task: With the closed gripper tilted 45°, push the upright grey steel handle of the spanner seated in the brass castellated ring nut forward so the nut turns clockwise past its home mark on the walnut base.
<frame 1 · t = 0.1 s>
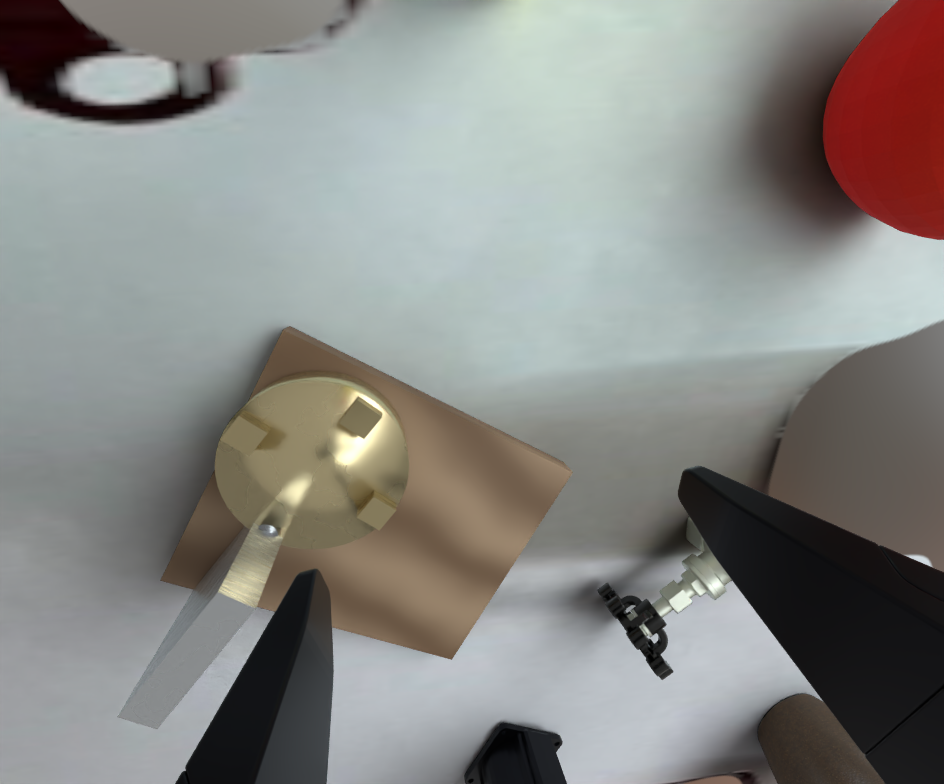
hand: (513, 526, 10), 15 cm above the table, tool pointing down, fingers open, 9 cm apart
valve: (663, 551, 32), on the table
walnut base: (381, 508, 26), on the table
ring nut spanner: (271, 532, 19), point 5 cm above the table, hinge at 30.0°
plant pot: (784, 718, 42), on the table
tomato: (863, 127, 26), on the table
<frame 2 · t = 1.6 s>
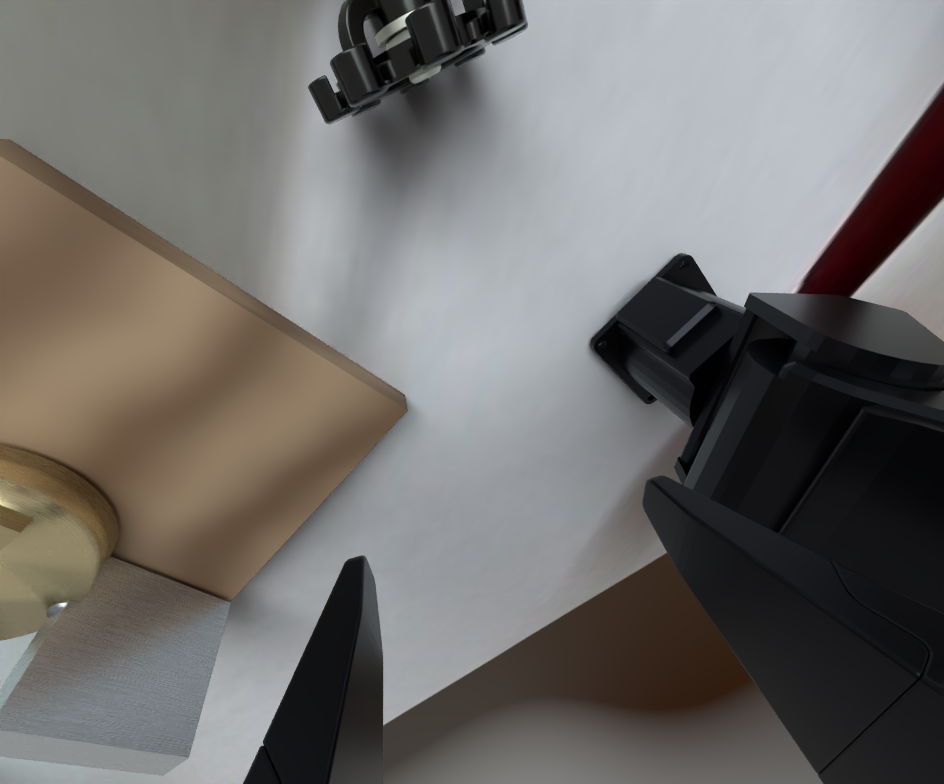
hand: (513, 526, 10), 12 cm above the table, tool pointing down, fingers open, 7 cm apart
walnut base: (142, 449, 19), on the table
ring nut spanner: (20, 629, 16), point 5 cm above the table, hinge at 30.0°
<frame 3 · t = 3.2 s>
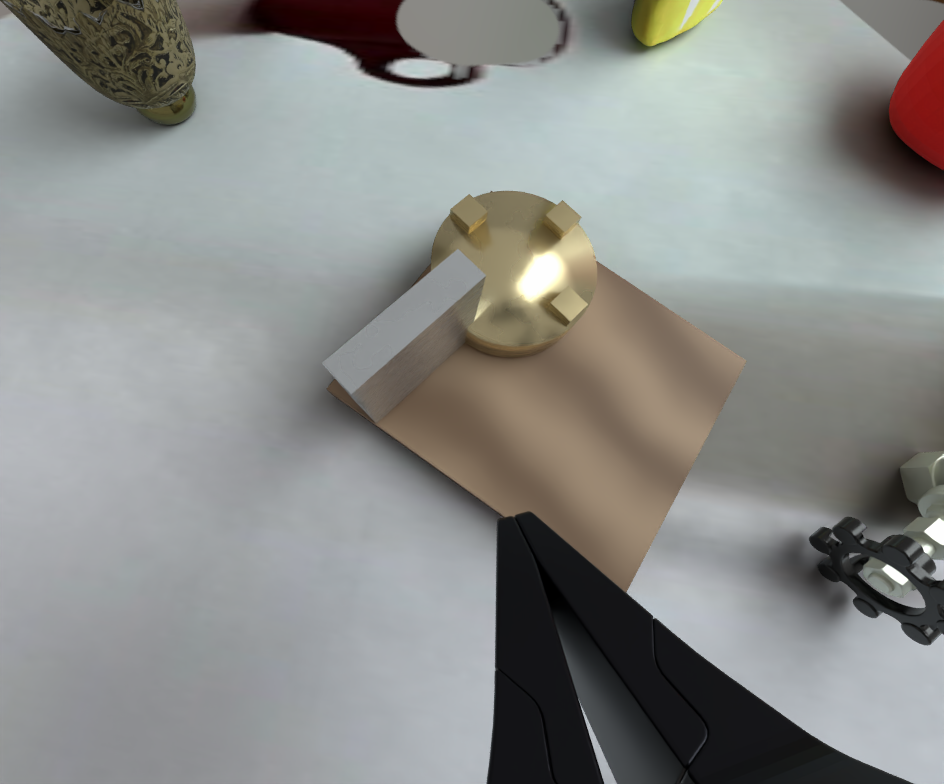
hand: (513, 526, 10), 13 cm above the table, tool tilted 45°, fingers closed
valve: (881, 516, 25), on the table
cup: (173, 110, 27), on the table
walnut base: (542, 380, 25), on the table
ring nut spanner: (475, 291, 20), point 5 cm above the table, hinge at 30.0°
bottle: (665, 20, 33), on the table
tomato: (925, 142, 33), on the table
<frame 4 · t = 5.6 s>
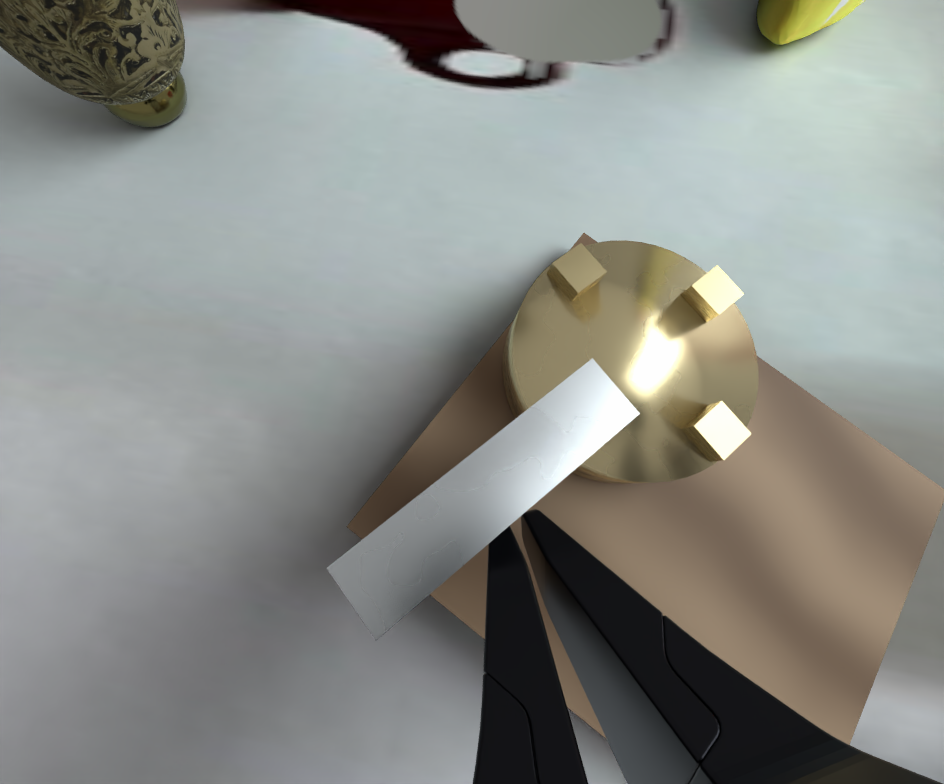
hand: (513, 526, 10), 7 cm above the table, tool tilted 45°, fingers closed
cup: (156, 107, 20), on the table
walnut base: (651, 506, 17), on the table
ring nut spanner: (583, 399, 13), point 5 cm above the table, hinge at 25.4°, touching gripper
bottle: (794, 13, 26), on the table
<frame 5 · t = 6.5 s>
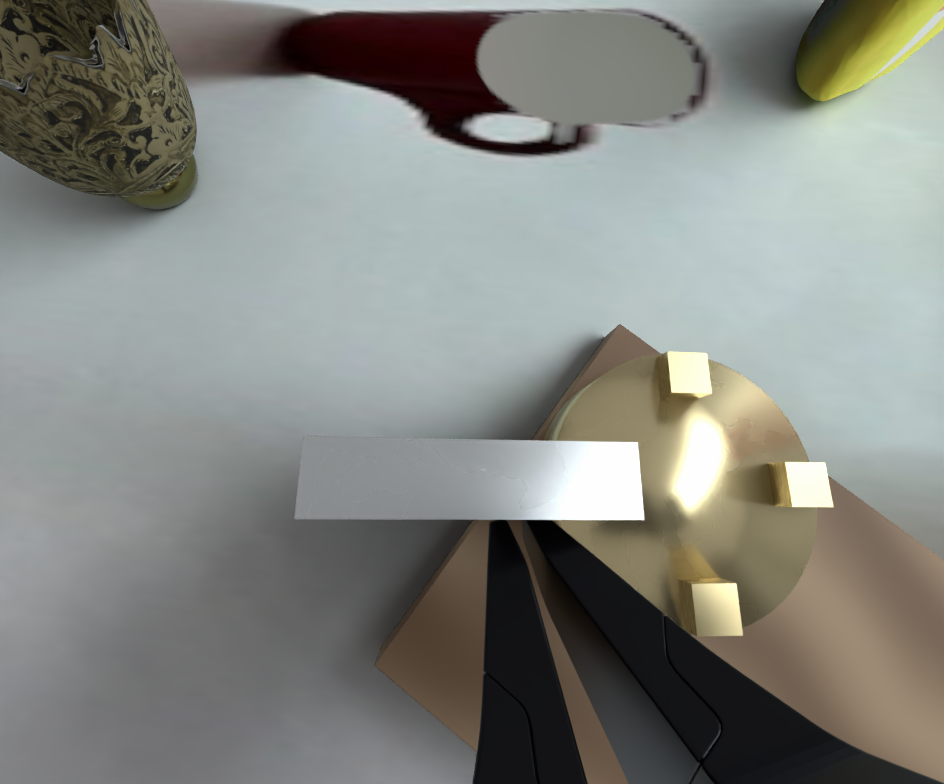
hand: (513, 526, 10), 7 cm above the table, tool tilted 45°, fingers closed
cup: (166, 185, 19), on the table
walnut base: (692, 621, 16), on the table
ring nut spanner: (607, 482, 12), point 5 cm above the table, hinge at -13.3°, touching gripper
bottle: (833, 63, 25), on the table
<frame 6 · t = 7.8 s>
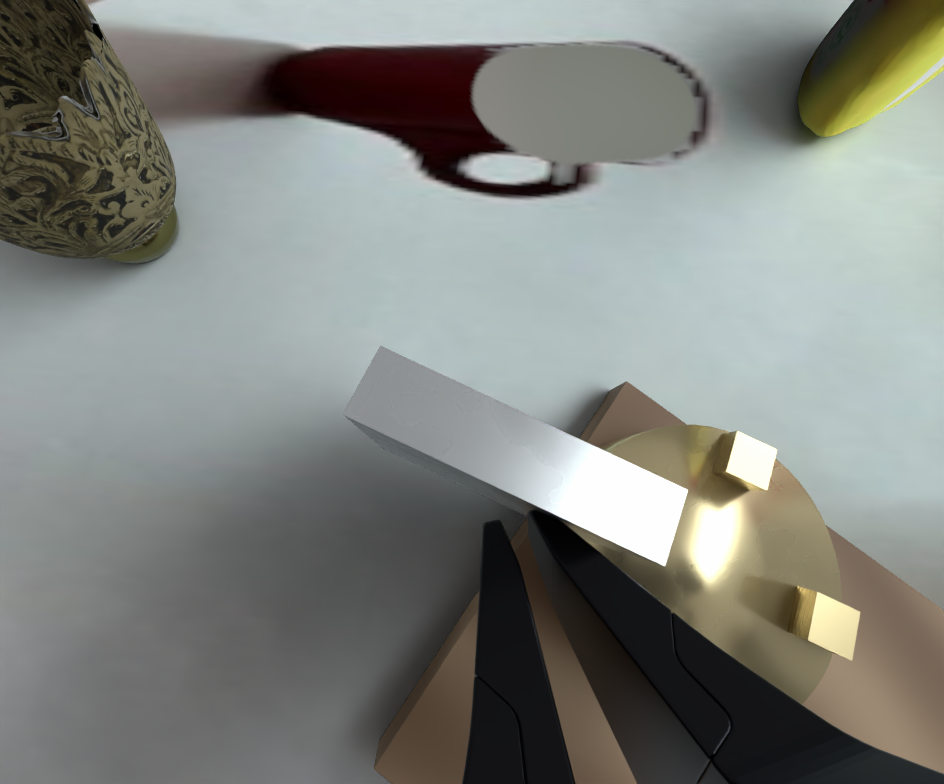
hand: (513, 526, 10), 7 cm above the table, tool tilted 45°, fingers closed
cup: (145, 235, 18), on the table
walnut base: (708, 696, 16), on the table
ring nut spanner: (628, 527, 12), point 5 cm above the table, hinge at -38.1°, touching gripper
bottle: (834, 95, 24), on the table
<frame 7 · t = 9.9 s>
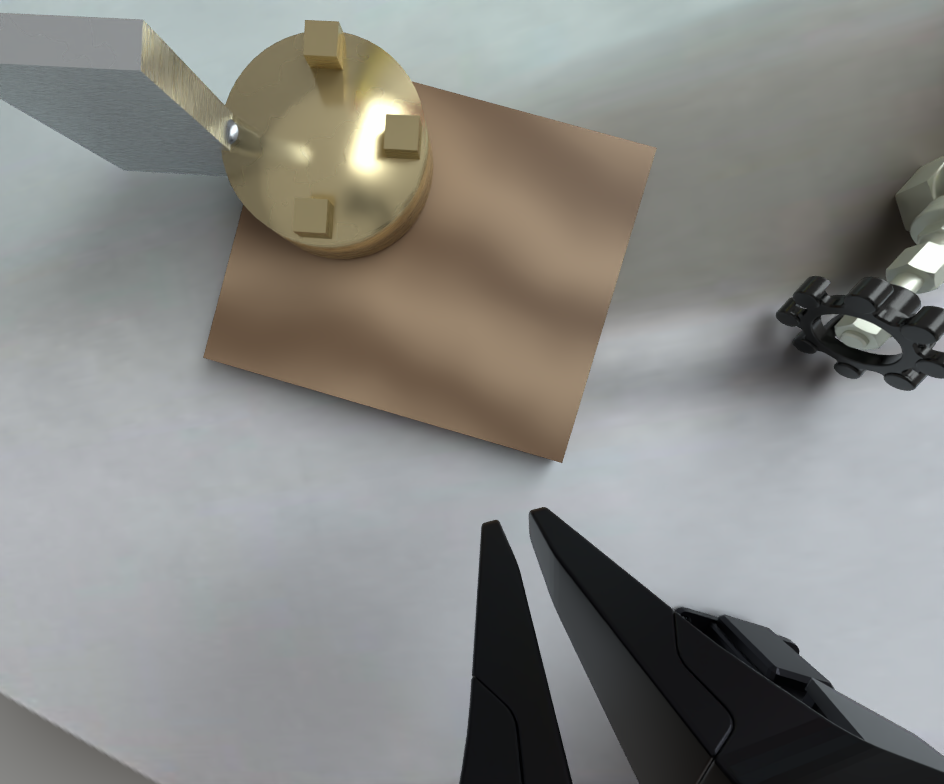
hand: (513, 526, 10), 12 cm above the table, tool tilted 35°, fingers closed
valve: (872, 262, 21), on the table
walnut base: (428, 264, 22), on the table
ring nut spanner: (232, 117, 16), point 5 cm above the table, hinge at -38.1°
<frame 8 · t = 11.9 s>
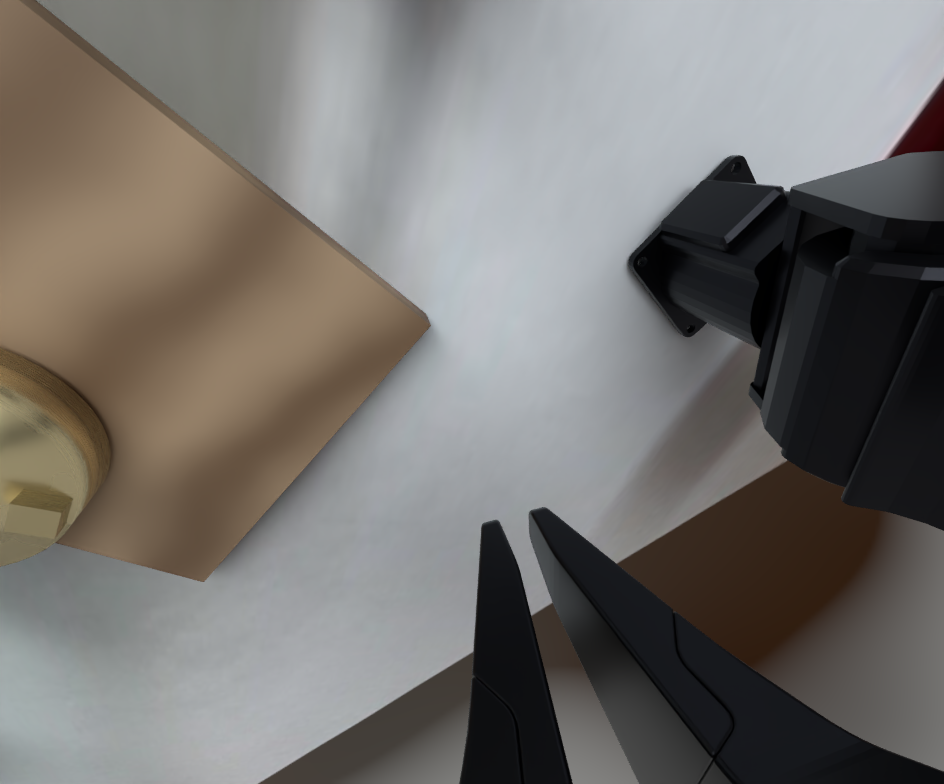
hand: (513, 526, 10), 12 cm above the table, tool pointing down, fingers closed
walnut base: (137, 366, 17), on the table
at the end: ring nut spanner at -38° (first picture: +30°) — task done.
